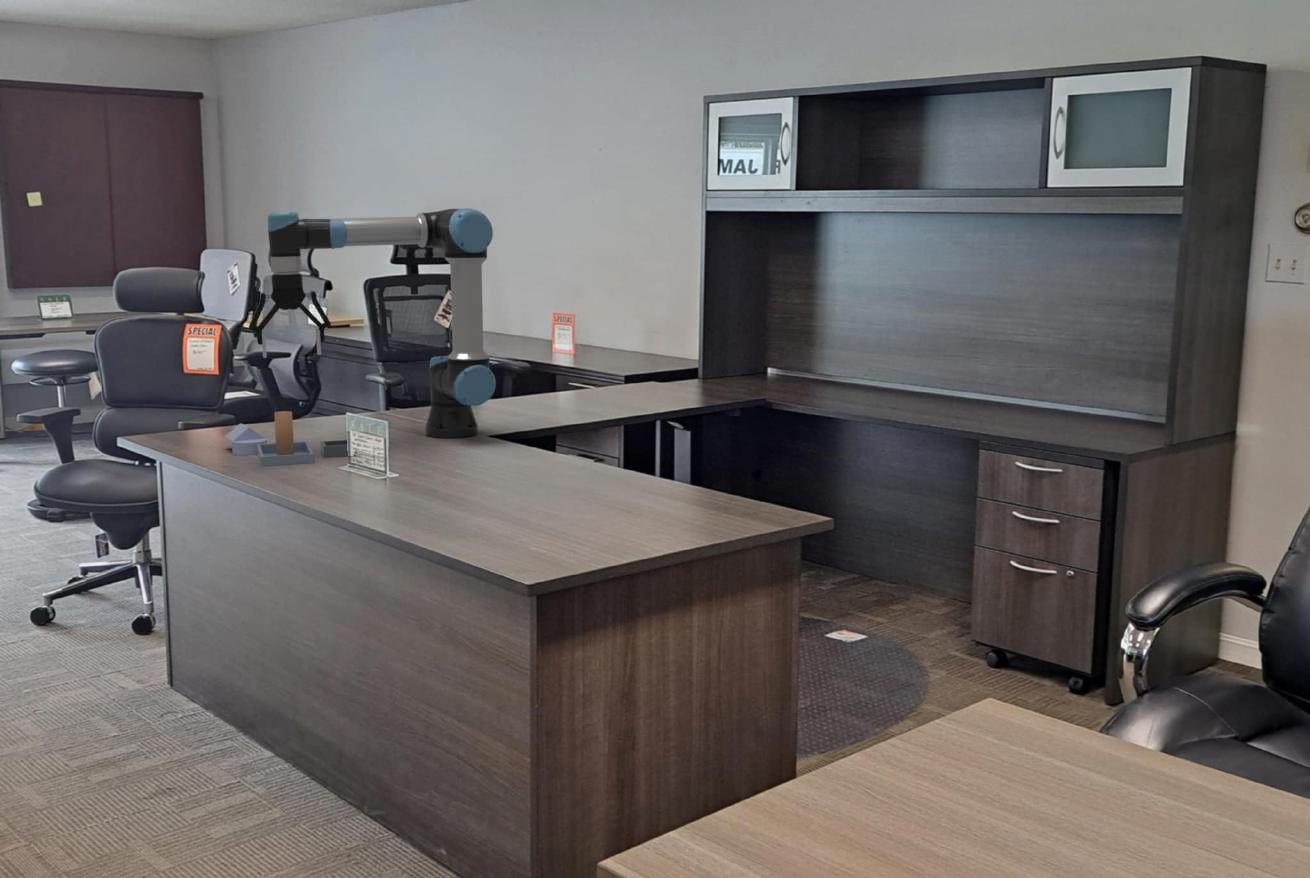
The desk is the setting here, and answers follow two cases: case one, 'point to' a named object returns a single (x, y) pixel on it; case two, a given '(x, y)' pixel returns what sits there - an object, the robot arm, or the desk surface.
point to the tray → (270, 458)
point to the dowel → (284, 433)
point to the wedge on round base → (245, 440)
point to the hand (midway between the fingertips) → (292, 355)
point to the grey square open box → (334, 448)
